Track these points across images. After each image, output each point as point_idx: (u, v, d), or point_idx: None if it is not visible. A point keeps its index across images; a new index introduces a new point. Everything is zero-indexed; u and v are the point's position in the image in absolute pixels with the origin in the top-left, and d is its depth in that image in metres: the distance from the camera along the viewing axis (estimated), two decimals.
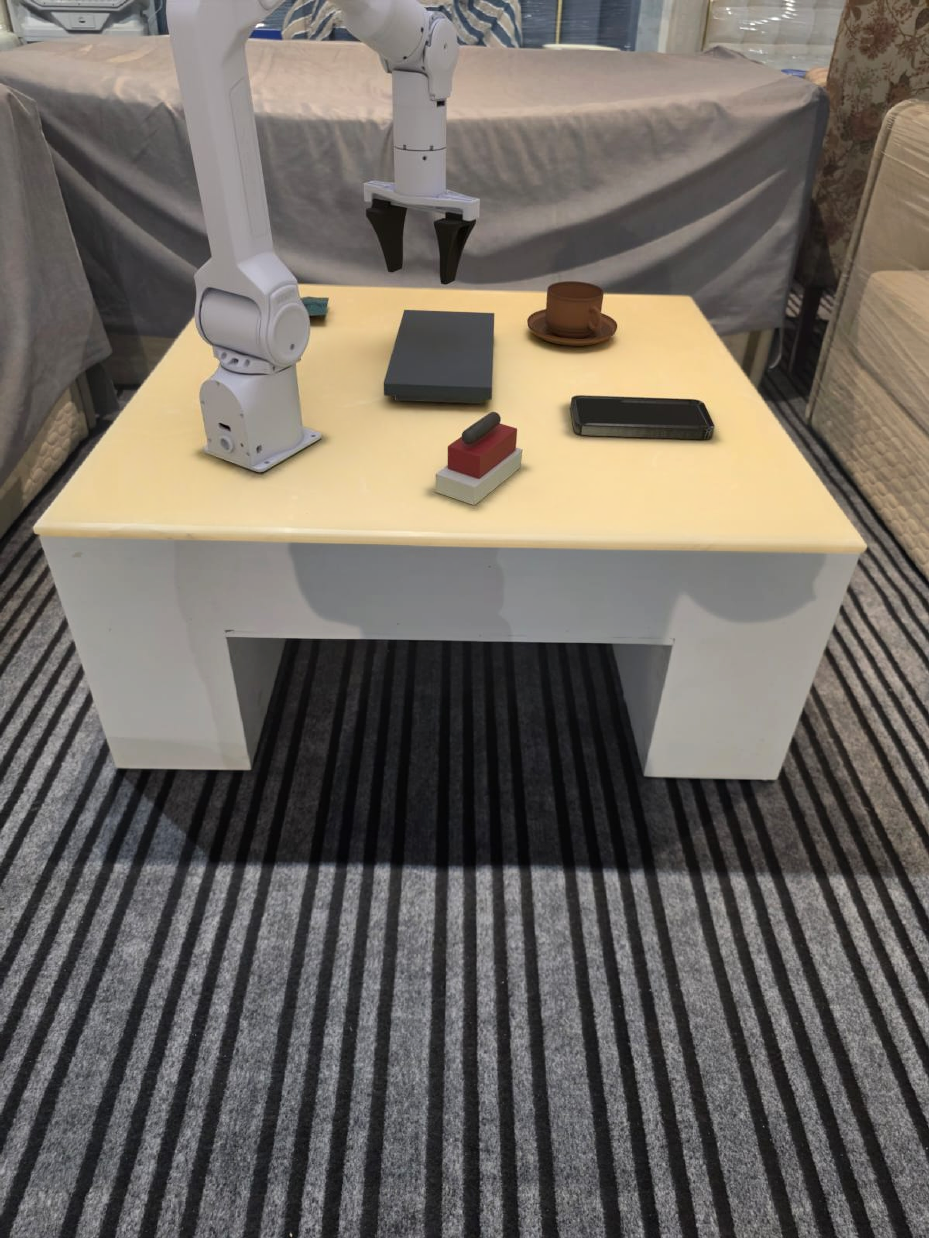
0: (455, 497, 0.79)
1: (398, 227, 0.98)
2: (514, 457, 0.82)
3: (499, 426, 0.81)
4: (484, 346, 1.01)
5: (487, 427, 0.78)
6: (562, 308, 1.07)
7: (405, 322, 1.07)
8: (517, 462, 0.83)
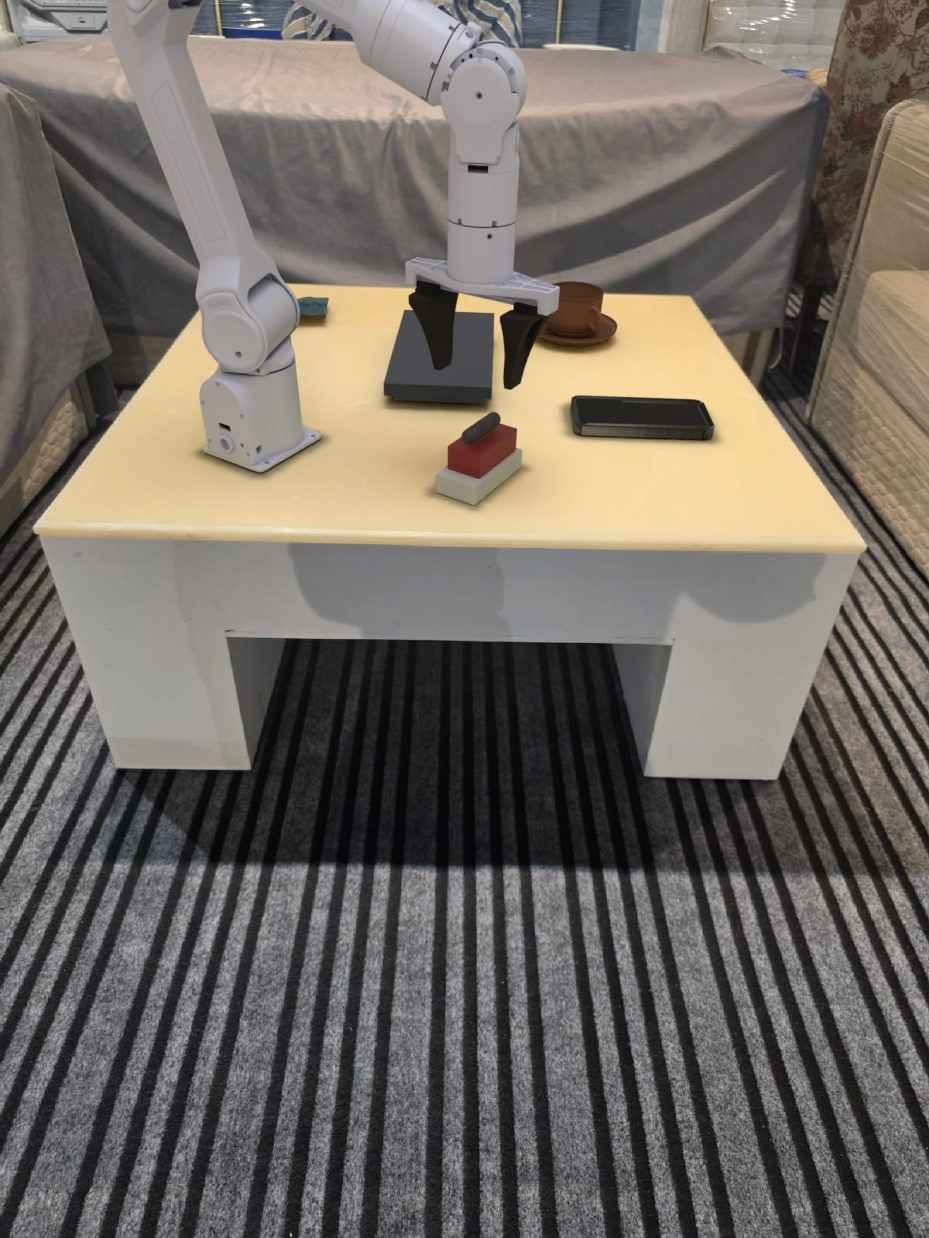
0: (455, 497, 0.79)
1: (448, 315, 0.77)
2: (514, 457, 0.82)
3: (499, 426, 0.81)
4: (484, 346, 1.01)
5: (487, 427, 0.78)
6: (562, 308, 1.07)
7: (405, 322, 1.07)
8: (517, 462, 0.83)
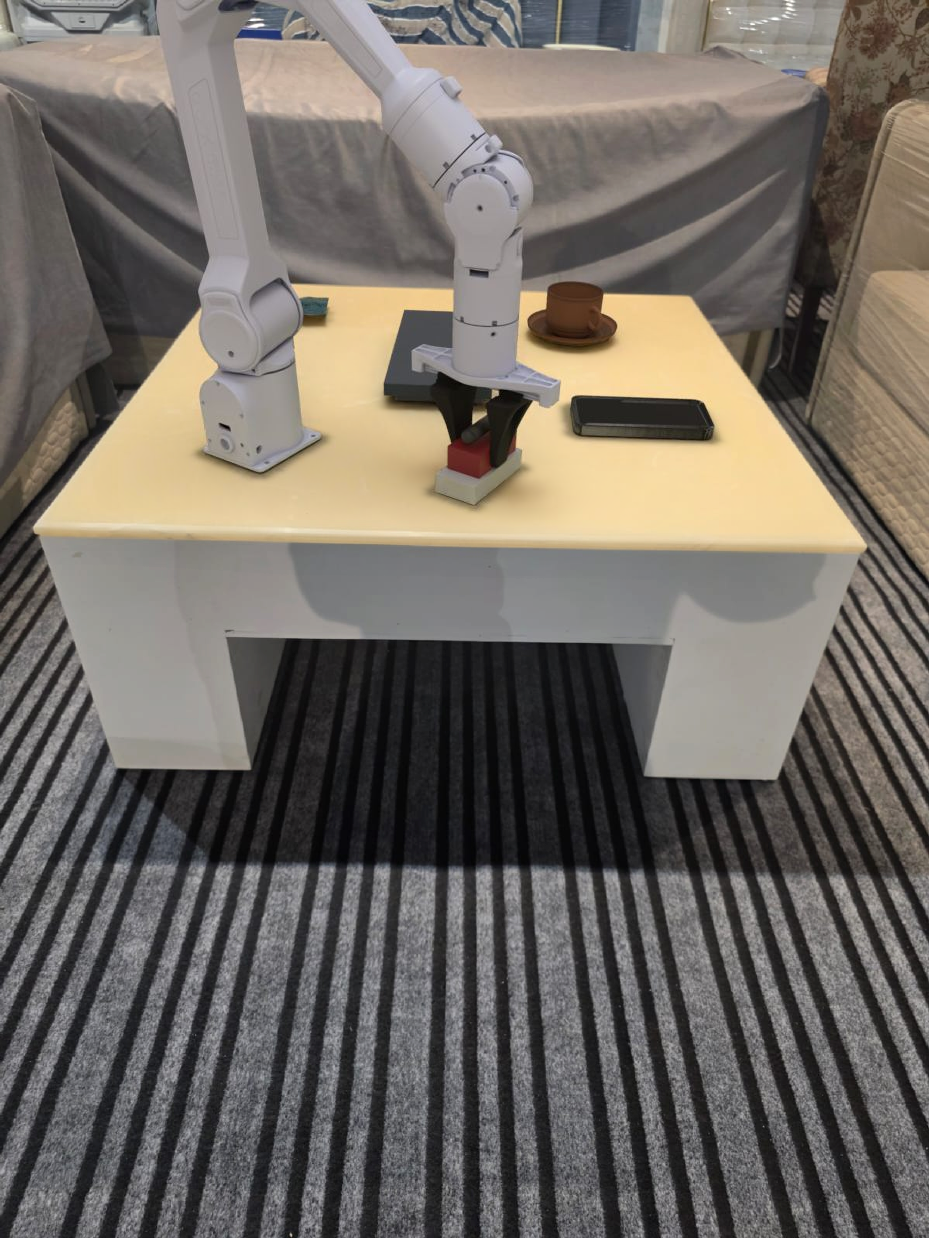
0: (455, 497, 0.79)
1: (468, 403, 0.79)
2: (514, 457, 0.82)
3: None
4: None
5: (487, 427, 0.78)
6: (562, 308, 1.07)
7: (405, 322, 1.07)
8: (517, 462, 0.83)
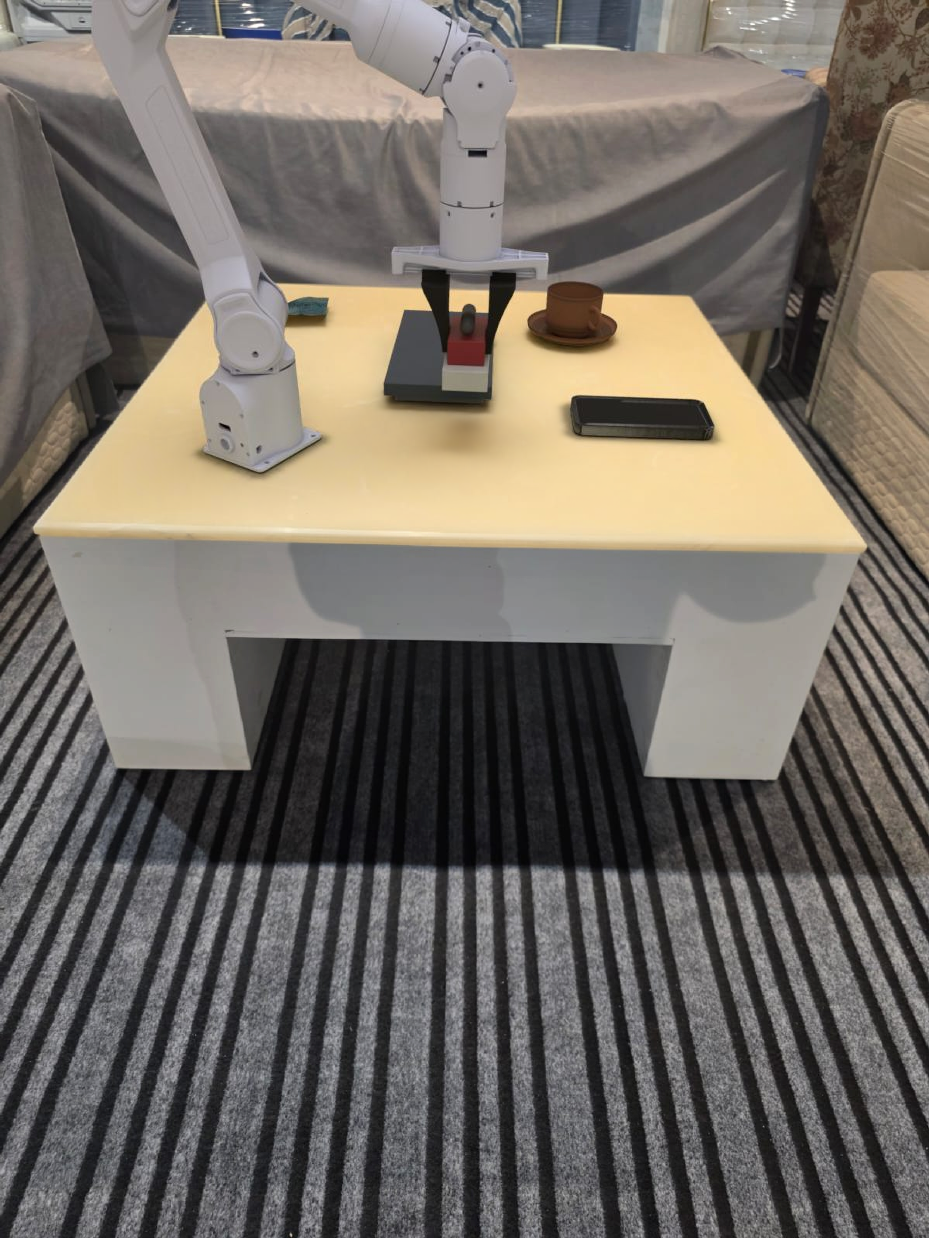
0: (465, 389, 0.81)
1: (448, 298, 0.81)
2: None
3: None
4: None
5: (474, 316, 0.81)
6: (562, 308, 1.07)
7: (405, 322, 1.07)
8: None
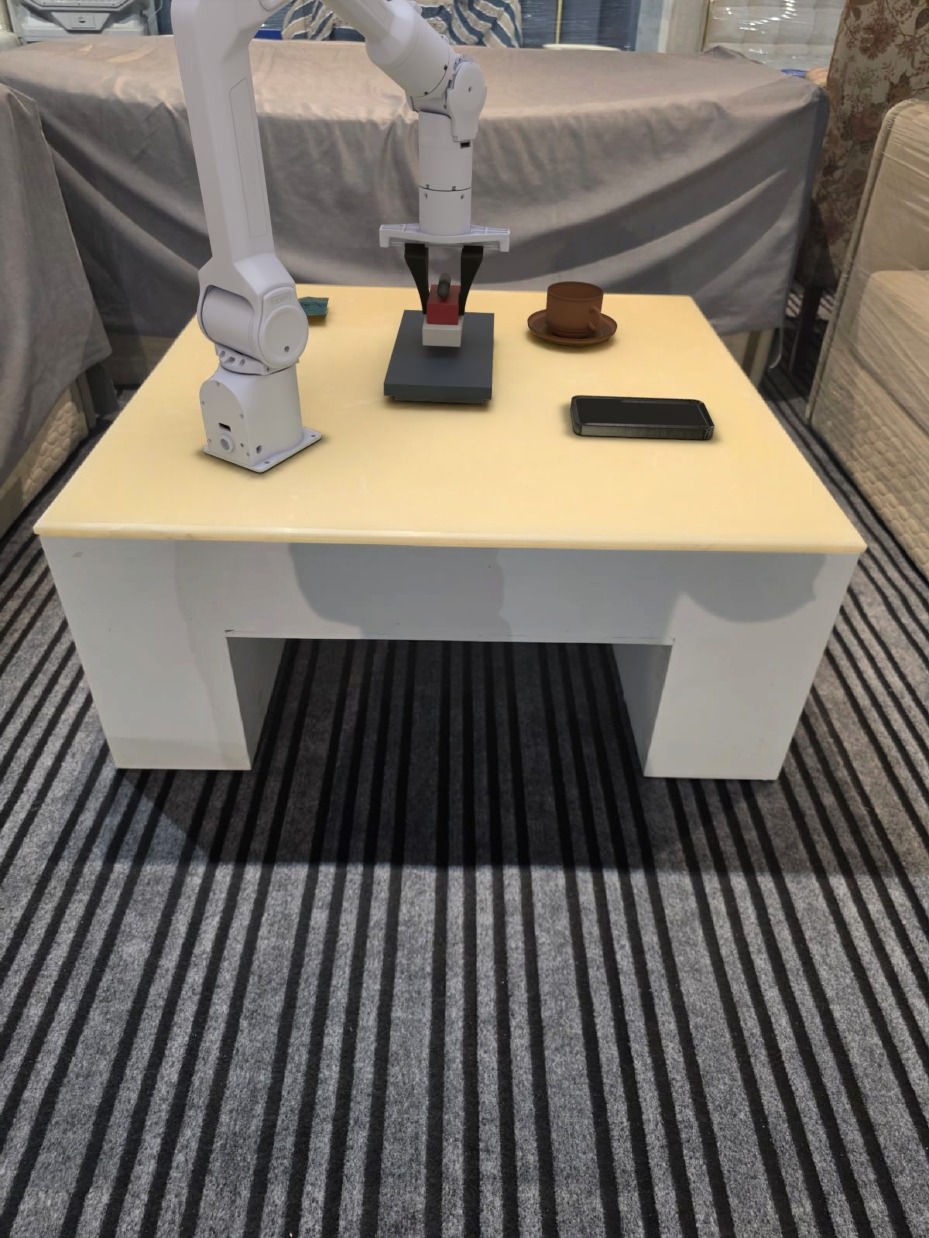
0: (442, 344, 0.97)
1: (427, 268, 0.97)
2: None
3: None
4: (484, 346, 1.01)
5: (449, 283, 0.97)
6: (562, 308, 1.07)
7: (405, 322, 1.07)
8: None
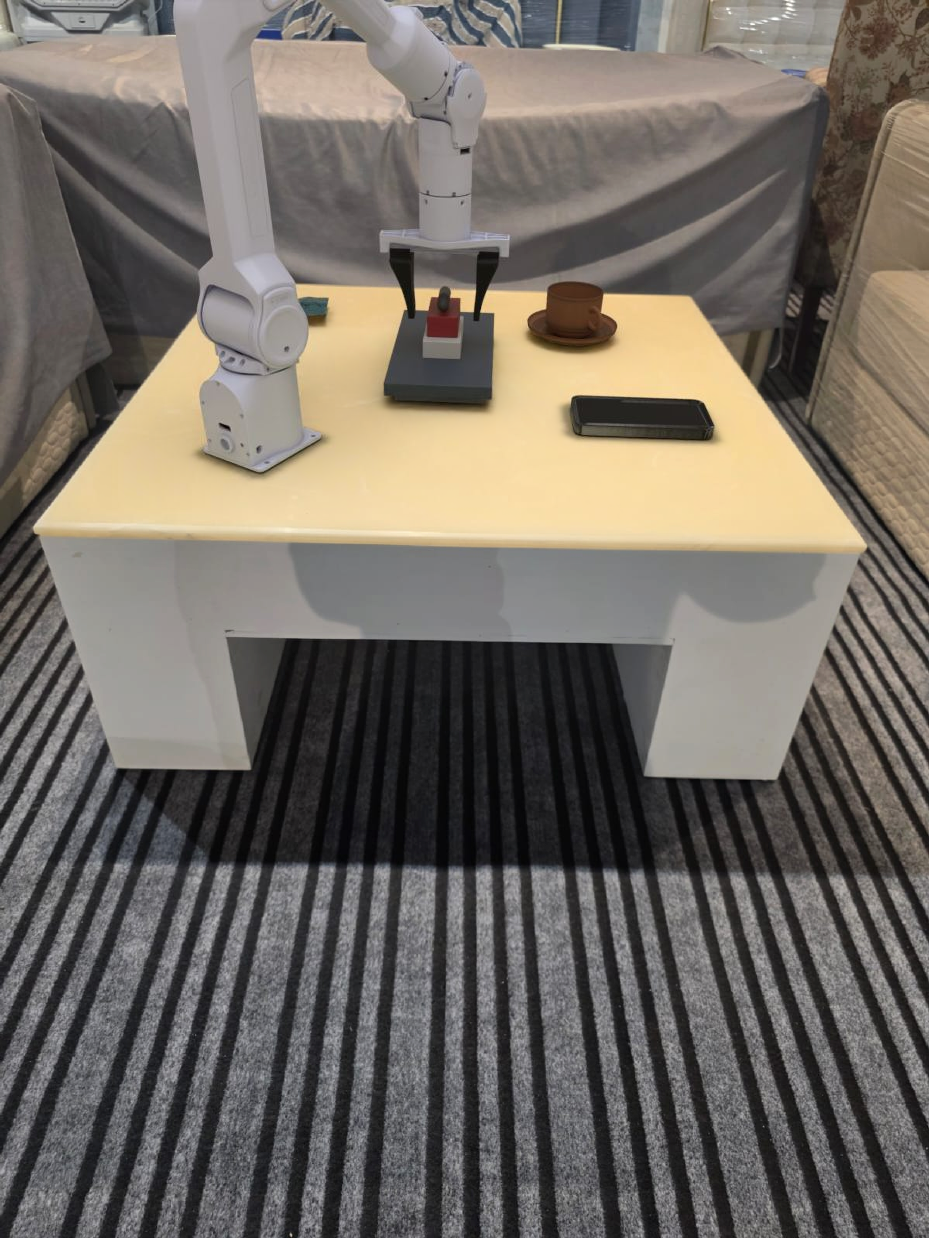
0: (442, 357, 0.98)
1: (413, 273, 0.97)
2: None
3: None
4: (484, 346, 1.01)
5: (449, 296, 0.98)
6: (562, 308, 1.07)
7: (405, 322, 1.07)
8: None
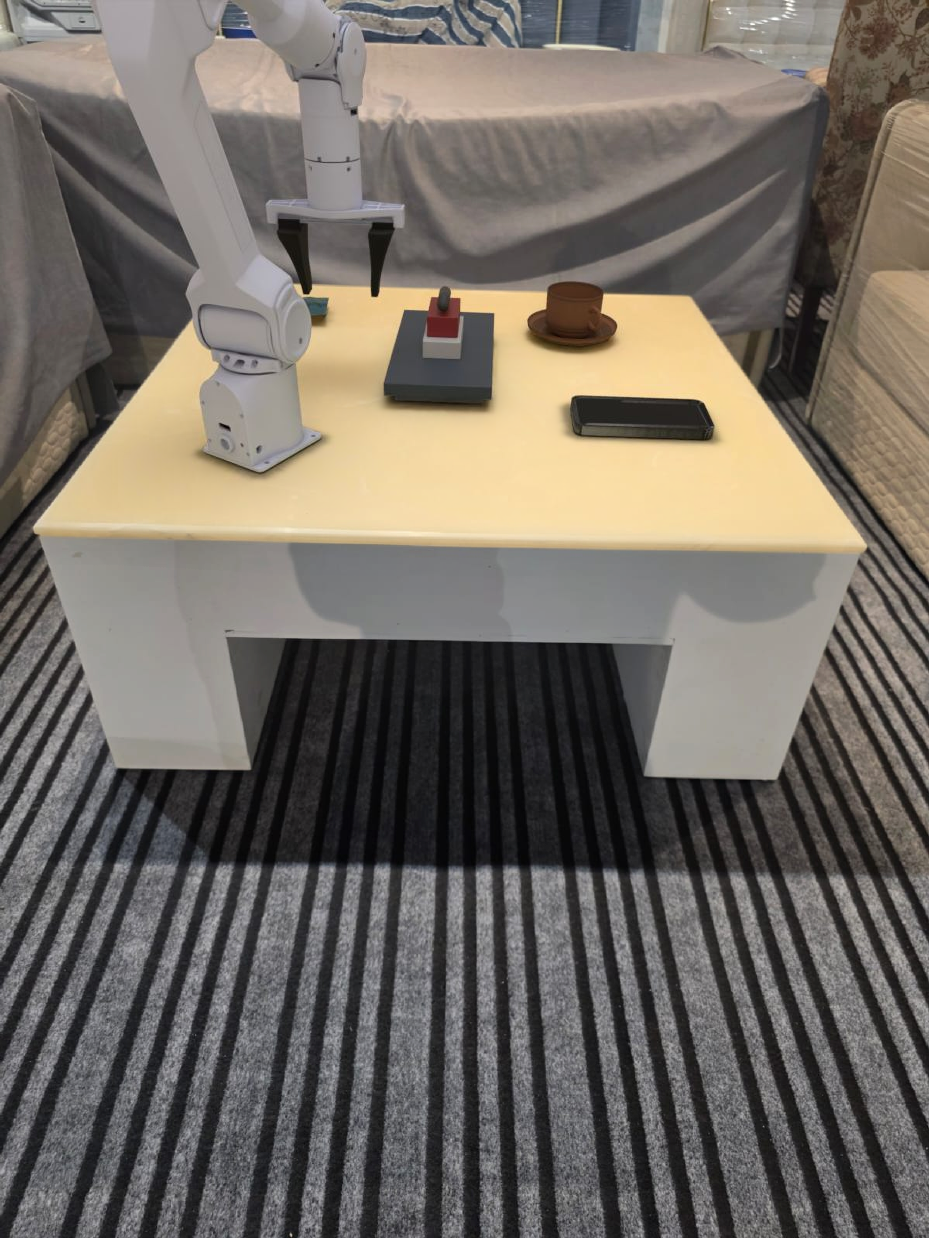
0: (442, 357, 0.98)
1: (306, 246, 0.92)
2: None
3: None
4: (484, 346, 1.01)
5: (449, 296, 0.98)
6: (562, 308, 1.07)
7: (405, 322, 1.07)
8: None
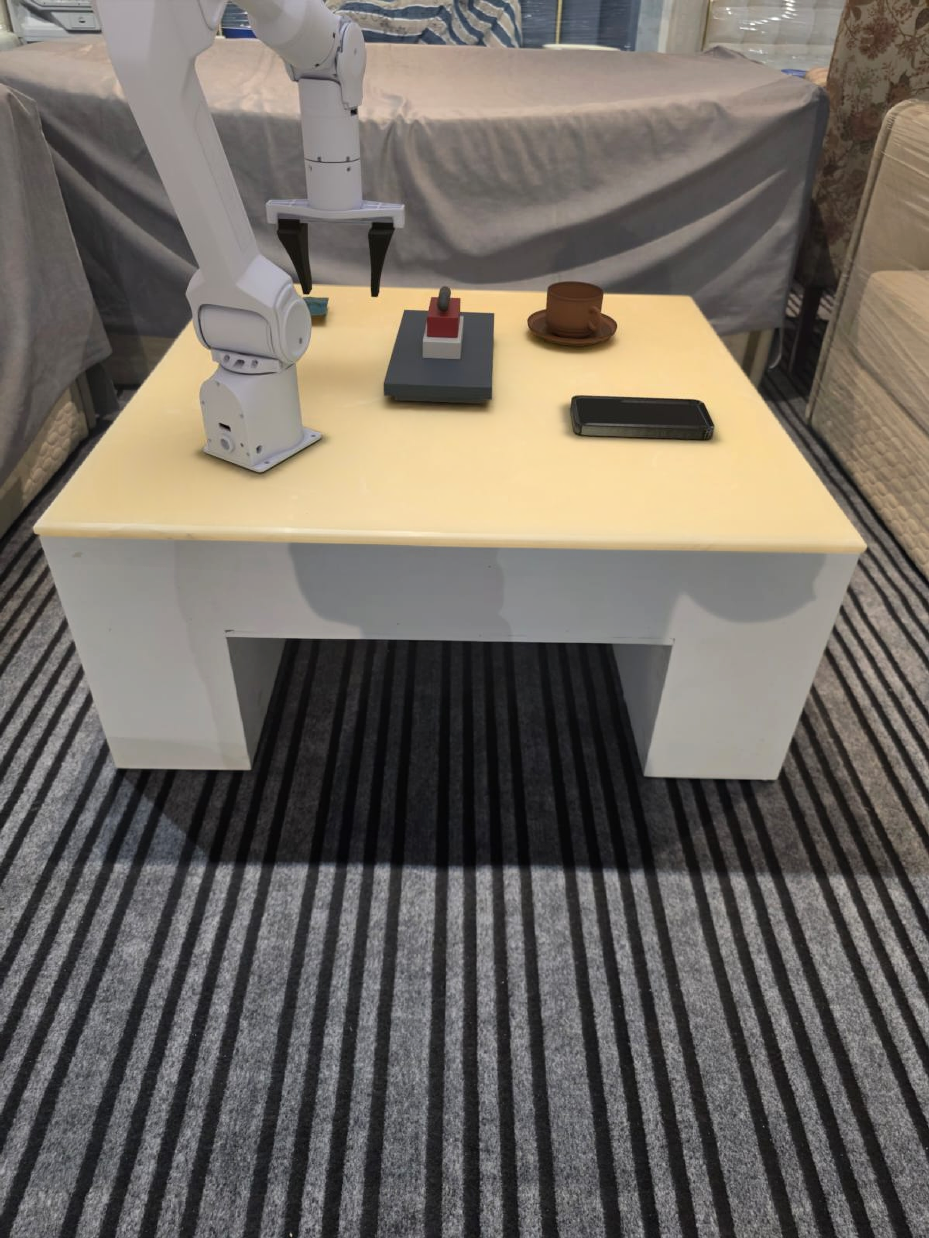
0: (442, 357, 0.98)
1: (306, 246, 0.92)
2: None
3: None
4: (484, 346, 1.01)
5: (449, 296, 0.98)
6: (561, 308, 1.07)
7: (405, 322, 1.07)
8: None
